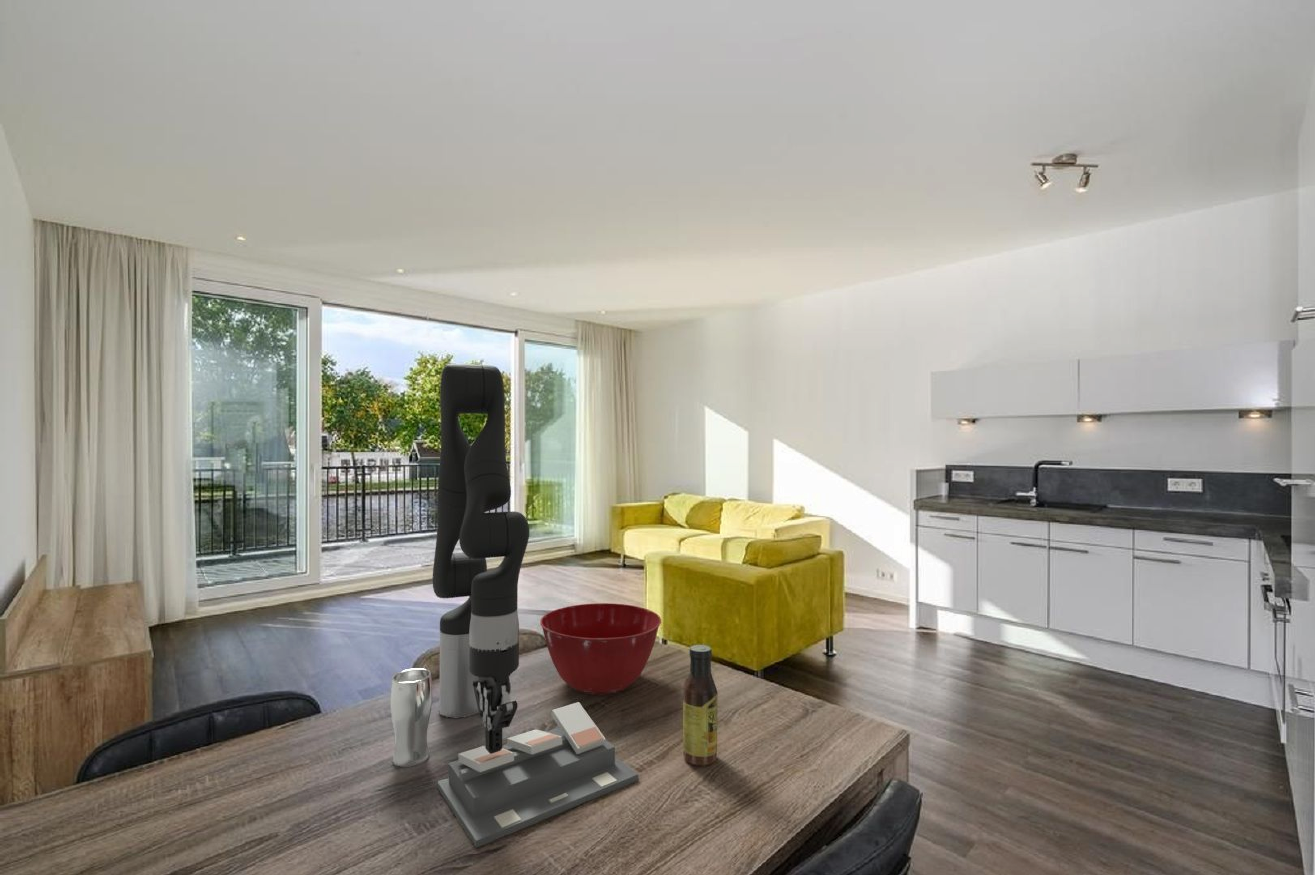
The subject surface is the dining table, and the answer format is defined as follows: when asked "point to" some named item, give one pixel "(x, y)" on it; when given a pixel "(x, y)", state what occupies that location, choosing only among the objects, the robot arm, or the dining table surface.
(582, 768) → the switch box
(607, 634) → the mixing bowl
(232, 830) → the dining table surface
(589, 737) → the switch
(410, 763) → the beer glass
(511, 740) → the switch
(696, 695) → the sauce bottle
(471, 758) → the switch
